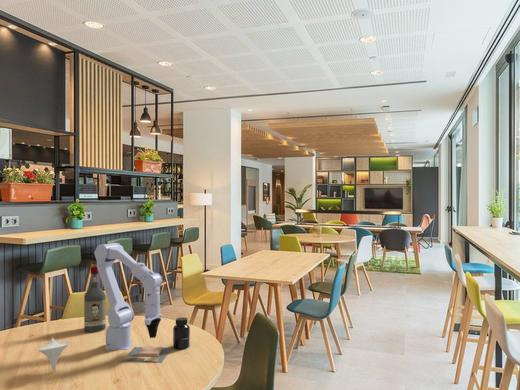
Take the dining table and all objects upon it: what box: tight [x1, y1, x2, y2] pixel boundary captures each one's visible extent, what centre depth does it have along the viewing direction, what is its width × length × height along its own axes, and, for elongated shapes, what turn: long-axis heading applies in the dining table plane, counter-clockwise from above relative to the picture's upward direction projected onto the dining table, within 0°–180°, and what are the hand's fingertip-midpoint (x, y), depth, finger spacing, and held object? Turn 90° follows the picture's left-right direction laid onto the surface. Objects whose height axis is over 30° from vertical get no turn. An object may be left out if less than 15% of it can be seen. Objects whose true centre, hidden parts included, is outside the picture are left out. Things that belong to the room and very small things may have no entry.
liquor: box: [83, 265, 107, 333], centre depth 196 cm, size 9×9×30 cm
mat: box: [119, 346, 174, 364], centre depth 162 cm, size 16×16×1 cm
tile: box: [138, 346, 163, 357], centre depth 163 cm, size 8×2×7 cm
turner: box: [120, 355, 160, 362], centre depth 156 cm, size 14×4×1 cm, turn 87°
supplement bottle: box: [172, 317, 191, 351], centre depth 170 cm, size 7×7×12 cm
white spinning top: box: [36, 337, 71, 373], centre depth 147 cm, size 10×11×12 cm
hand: (152, 337), depth 166 cm, fingers closed
